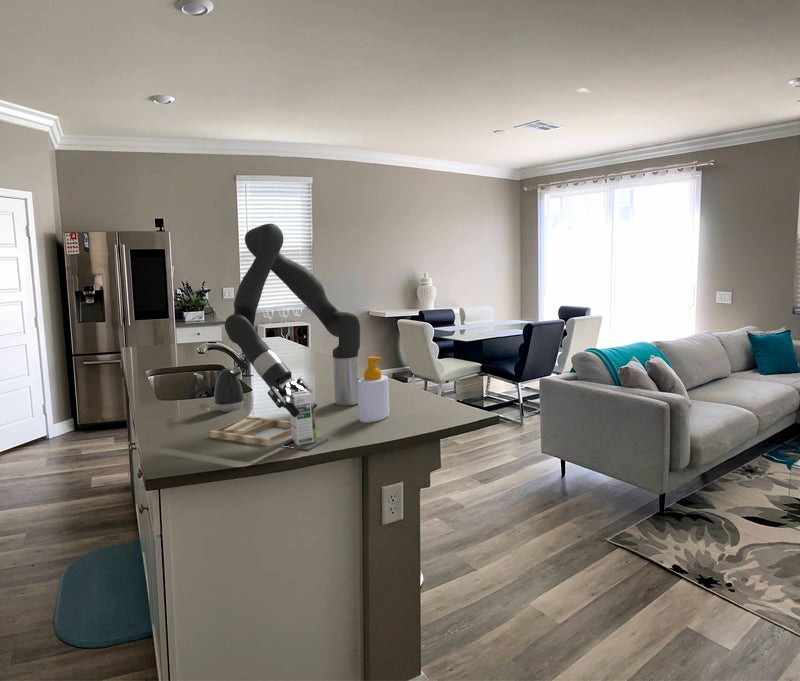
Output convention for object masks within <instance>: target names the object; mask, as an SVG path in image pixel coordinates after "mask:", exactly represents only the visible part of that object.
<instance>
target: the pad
mask: <svg viewBox="0 0 800 681" xmlns="http://www.w3.org/2000/svg"><path fill="white" fill-rule="evenodd" d="M327 440H328V441H329V440H330V439H329V438H328V437H322V436H321V437H320V436H316V442H313V443H308V444H302V445H297V444H296V443H294V442H293V440H291V441H288V442H287V443H285V444H283V445H284V446H289V447H294V448H298V449H297V450H299V449H303V450H302V451H306V450H308V452H309V451H311V450H313V449H315V448H317V447H319V446H320V444H321V445H322V444H324V443H326V442H328V441H327ZM325 441H326V442H325ZM323 442H324V443H323ZM318 445H319V446H318ZM316 446H317V447H316ZM314 447H315V448H314ZM312 448H313V449H312ZM310 449H311V450H310Z"/></svg>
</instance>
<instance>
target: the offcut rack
mask: <svg viewBox="0 0 800 681" xmlns="http://www.w3.org/2000/svg"><path fill="white" fill-rule="evenodd" d="M244 419H251V420H262V422H263V424H261V425H259V426H256V427H254V428H252V429H249V430H247V431H244V432H242V433H240V434H235V433H228V432H224V429H226V428H228V427H230V426H232V425H234V424H236V423H238V422H240V421H242V420H244ZM274 427H277V428H284V429H285V430H283V431H281V432H279V433H276V434H275V435H273V436H270V437H262V436H254V435H257V434H259V433H262V432H264V431H266V430H268V429H271V428H274ZM290 436H291V437H292V433H291V420H281V419H274V418H267V417H266V418H265V417H259V416H258V417H257V416H246V417H244V418H241V419H239V420H236V421H234V422H231V423H227V424H226V425H224V426H221V427H218V428H215V429H212V430H210V431H209V438H212V439H220V440H225V441H226V440H227V441H233V442H240V443H247V444H254V445H258V446H267V447H269V446H272V445H275V444H276V443H278V442H280V441H282V440H285V439H286V438H289V437H290Z"/></svg>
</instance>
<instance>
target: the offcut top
mask: <svg viewBox="0 0 800 681" xmlns="http://www.w3.org/2000/svg"><path fill="white" fill-rule="evenodd" d="M243 419H244V418H243ZM261 424H263V422H262V420H251V419H244V420H242V421H240V422H238V423H236V424H234V425H232V426H230V427H228V428H226V429H224V432H228V433H235V434H240V433H242V432H244V431H247V430H249V429H252V428H254V427H256V426H259V425H261Z"/></svg>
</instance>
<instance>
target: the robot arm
mask: <svg viewBox="0 0 800 681" xmlns="http://www.w3.org/2000/svg"><path fill="white" fill-rule="evenodd" d="M244 242H245V243H244V244H245V246H246V248H247V250H248V252H250V253H251V255H252V256H254V260H253V262H252V263H251V266H250V267H249V269H248V270H247V272H246V273H245V274H244V276H243V278H242V279H241V281H240V283H239V286H238V288H237V292H236V295H235V298H234V303H233V308H234V312H233V314H230V315H228V316H227V317H226V320H225V321H224V330H225V333H226V335H227V336H228V338H229V340H230V341H231V342H232V343H234V344H236V345H237V346H238V347H239V348H240V349H241V351H242V353H243V355H244V357H245V358H246V359H247V361H248V362H250V364H251V365H252V366H253V368H254V370H255V372H256V373H257V374H258V376H260V377H261V379H262V380H263V381H264V383H265V384H266V385H267V386H268V388H269V390H268V391H267V394H268V396H269V397H270V399H271V400H272V401H273V403H274V405H276V407H277V408H278V409H281V408H284V409H286V411H288V412H289V415H290V414H291V415H292V416H293V417H297V416H298V414H299V413H300V412H299V410H298V409H297V408H296V407H295V406H294V404H293V403H291V400H290V397H291V393H295V392H300V391H306V390H308V391H310V392H312V393H313V392H314V391H313V389H312V388H311V387H310V385H309V384H307V382H306V381H305V380H304V379H303V378H302V377H298V379H296V380H295V379H294V378H293V377H292V371H291V370H290V369H289V368H288V367H287V366H286V364H285V363H284V362H283V361H282V359H281V358H280V357H279V356H278V355H277V354H276V353H275V352H274V351H273V350H272V349H271V348H270V347H269V345H268V344H267V343H266V342H265V341H264V340H263V339H262V338H261V336H260V335H259V333H258V331H257V330H256V329H255V328H254V326H255V322H256V313H257V310H258V306H259V304H260V300H261V297H262V294H263V290H264V287H265V284H266V281H267V279H268V276H269V274H270V272H273V274H274V275H275V276H277V278H278V279H280V280H281V282H283V283H284V284H285V286H286V287H287V288H288V289H289V290H290V291H291V292H292V293H293V294H294V296H296V297H297V298H298V299H299V300H300V301H301V302H302V303H303V304H304V305H305V306H306V307H307V308H308V310H309V311H311V312H312V313H313V314H314V315H315V316H316V317H317V318H318V320H319V321H320V323H321V324H322V325H323V326H324V327H325V329H326V330H327V331H328V333H330V335H331V336H333V337H336V338H338V345H337V346H336V347H335V348H333V349H332V365H333V366H332V367H333V384H334V385H333V386H334V388H333V389H334V403H335V405H338V406H355V405H358V388H357V382H358V380H360V379H361V378H360V365H359V364H360V362H359V350H360V347H361V324H360V320H359V318H358V316H357V314H355V313H353V312H346V311H345V312H344V311H340V310H339V309H338V308H336V307H335V306H334V305H333V303H331V302H330V301H329V299H328V297H327V294H326V292H325V289H324V286H323V284H322V283H321V281H320V280H319V279H318V278H317V277H316V276H315V275H314V273H312V271H310V269H309V268H306V267H305V266H304V265H302V264H300V263H298V262H296V261H293V260H292V259H290V258H287V256H285V255H283V254H282V252H281V249H282V247H283V244H284V234H283V231H282V230H281V228H280V227H279V226H278V225H276V224H275V223H264V224H262V225H259V226H256V227H253V228H252V229H250V230H248V231H247V232H246V233H245V235H244ZM317 407H318V403H317V401H316V400H315V399H314V410H316V408H317Z"/></svg>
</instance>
